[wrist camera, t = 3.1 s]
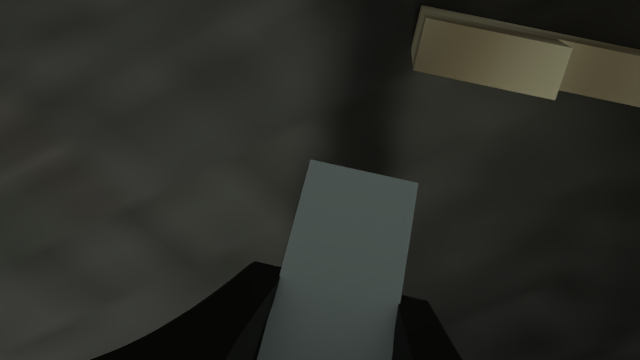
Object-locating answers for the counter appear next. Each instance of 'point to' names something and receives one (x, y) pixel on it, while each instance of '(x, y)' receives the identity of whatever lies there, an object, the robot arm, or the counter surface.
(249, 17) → the counter surface
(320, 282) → the notched plate
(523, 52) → the birch board
